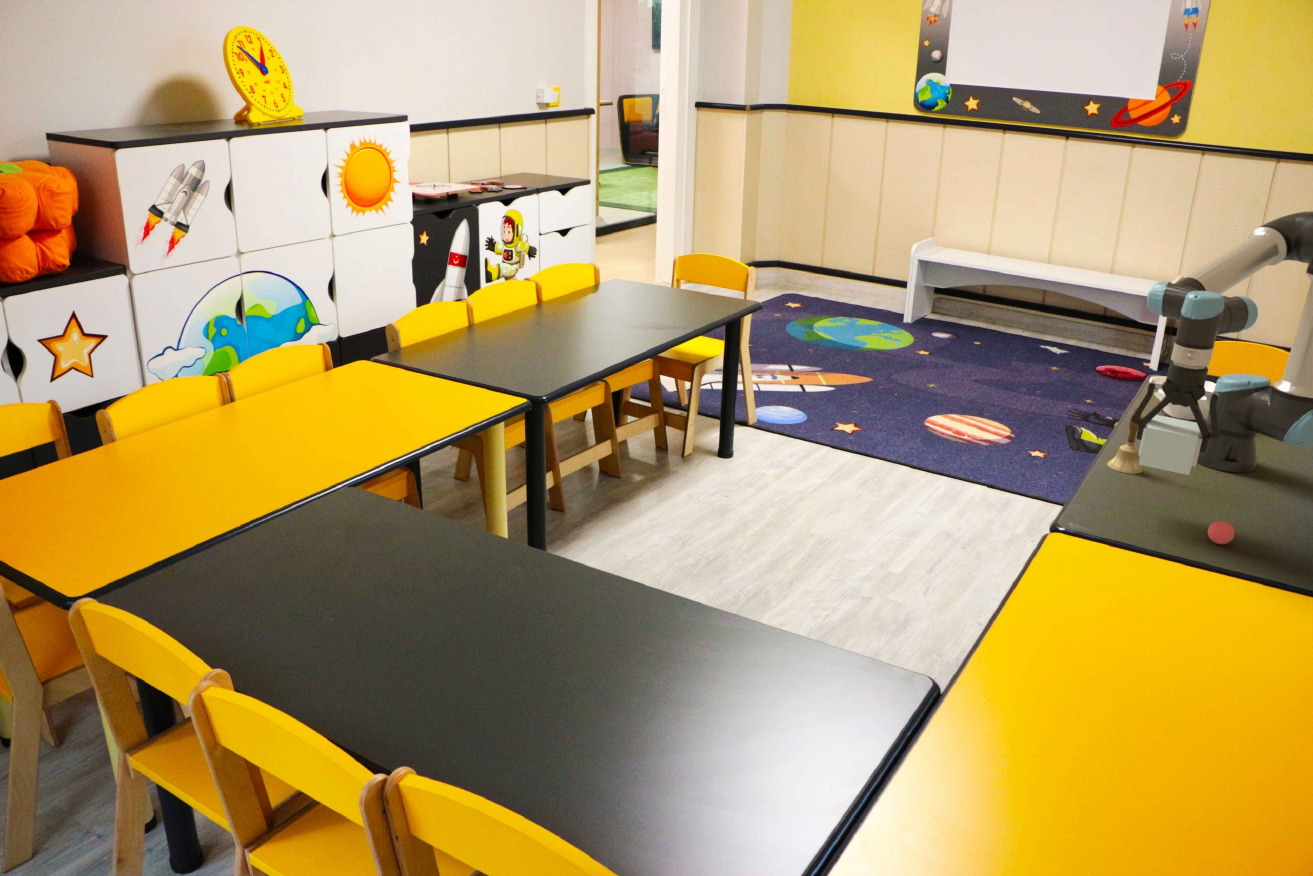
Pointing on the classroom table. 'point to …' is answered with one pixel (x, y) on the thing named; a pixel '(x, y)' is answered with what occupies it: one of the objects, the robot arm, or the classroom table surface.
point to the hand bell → (1127, 453)
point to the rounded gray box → (1170, 444)
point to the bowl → (1179, 410)
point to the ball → (1221, 532)
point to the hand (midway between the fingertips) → (1167, 459)
